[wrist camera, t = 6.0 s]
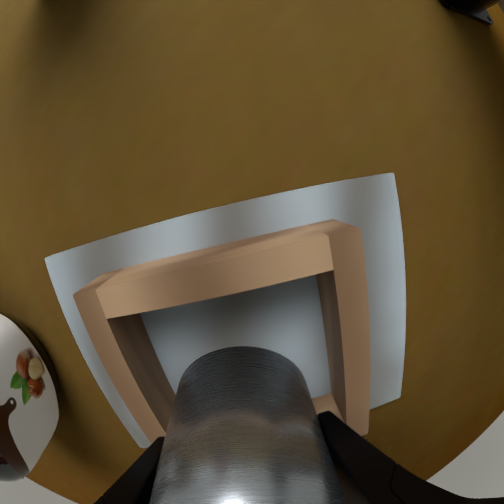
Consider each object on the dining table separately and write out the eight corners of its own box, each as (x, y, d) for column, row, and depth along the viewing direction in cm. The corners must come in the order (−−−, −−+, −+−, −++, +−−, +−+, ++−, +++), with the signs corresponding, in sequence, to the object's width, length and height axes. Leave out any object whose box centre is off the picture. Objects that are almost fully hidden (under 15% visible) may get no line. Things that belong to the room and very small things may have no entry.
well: (385, 173, 13) (431, 170, 9) (395, 390, 16) (419, 425, 12) (52, 254, 13) (9, 274, 9) (142, 440, 16) (130, 478, 12)
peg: (297, 331, 9) (385, 566, 1) (313, 424, 10) (360, 582, 3) (158, 358, 9) (84, 565, 1) (202, 442, 10) (188, 598, 3)
